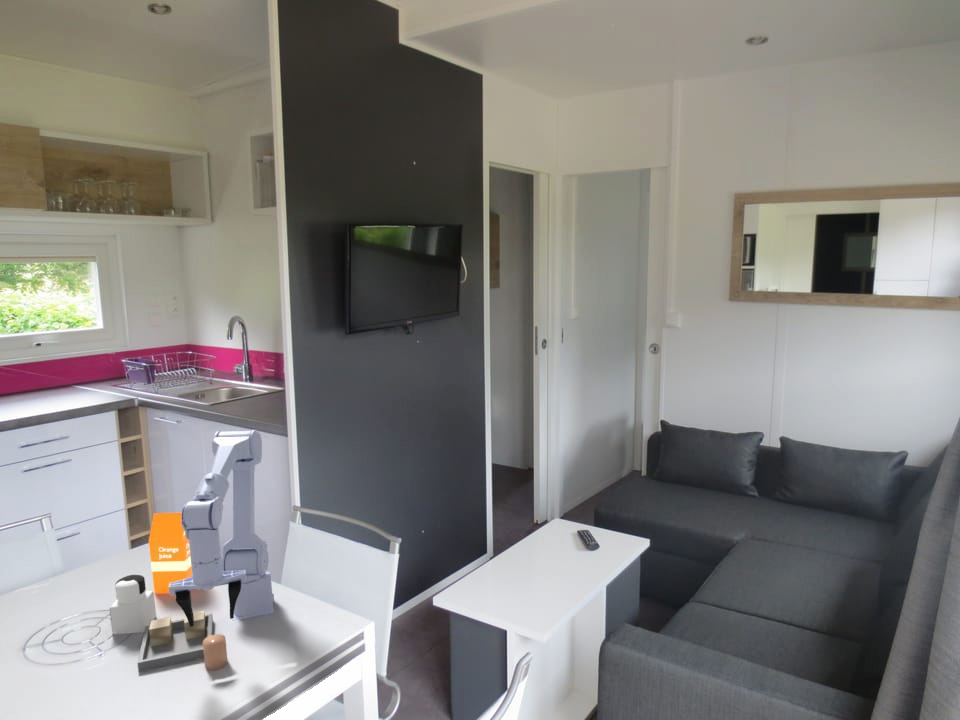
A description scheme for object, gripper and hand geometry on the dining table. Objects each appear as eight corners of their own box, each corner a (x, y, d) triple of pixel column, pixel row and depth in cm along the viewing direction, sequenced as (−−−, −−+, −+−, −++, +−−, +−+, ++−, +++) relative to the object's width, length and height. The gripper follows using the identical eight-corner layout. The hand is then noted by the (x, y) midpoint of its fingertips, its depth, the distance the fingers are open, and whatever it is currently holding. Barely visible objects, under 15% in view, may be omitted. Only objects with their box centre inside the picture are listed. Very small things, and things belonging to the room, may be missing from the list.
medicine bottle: (125, 620, 161) (120, 572, 159) (157, 618, 161) (151, 570, 159) (112, 636, 154) (106, 587, 152) (145, 634, 154) (139, 585, 152)
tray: (213, 623, 158) (212, 613, 158) (211, 658, 144) (210, 647, 144) (146, 636, 153) (145, 626, 153) (138, 674, 139) (137, 662, 139)
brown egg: (227, 658, 144) (225, 632, 143) (227, 670, 140) (225, 643, 139) (205, 663, 142) (202, 636, 141) (204, 675, 138) (202, 648, 137)
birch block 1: (172, 633, 153) (170, 616, 152) (171, 642, 149) (169, 625, 149) (153, 637, 152) (151, 620, 151) (151, 646, 148) (149, 629, 147)
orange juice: (188, 593, 173) (180, 518, 170) (153, 593, 173) (145, 519, 170) (201, 578, 180) (194, 506, 177) (168, 579, 181) (160, 507, 178)
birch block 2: (205, 626, 155) (204, 610, 155) (205, 635, 152) (203, 619, 151) (186, 630, 154) (185, 614, 153) (185, 639, 150) (184, 622, 150)
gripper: (165, 572, 131) (172, 637, 133) (244, 559, 136) (249, 622, 138) (168, 558, 138) (174, 620, 140) (243, 545, 143) (248, 605, 145)
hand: (212, 620), depth 139 cm, fingers open, 7 cm apart
